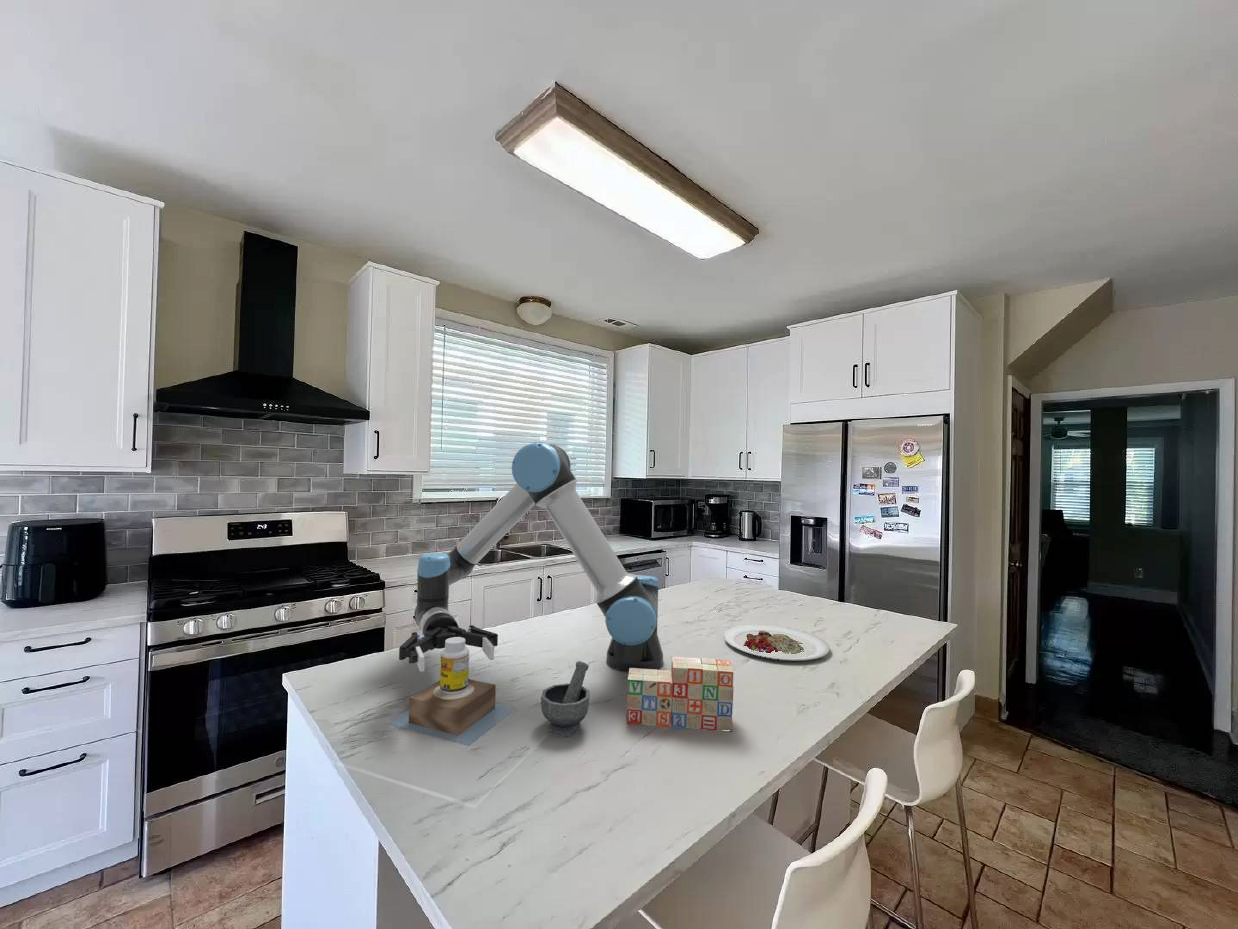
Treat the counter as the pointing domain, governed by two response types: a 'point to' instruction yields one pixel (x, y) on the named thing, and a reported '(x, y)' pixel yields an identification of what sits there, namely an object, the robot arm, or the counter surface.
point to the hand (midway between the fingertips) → (458, 659)
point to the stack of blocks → (682, 695)
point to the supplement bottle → (454, 666)
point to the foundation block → (452, 707)
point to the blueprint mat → (463, 738)
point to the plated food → (776, 641)
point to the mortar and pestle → (566, 704)
